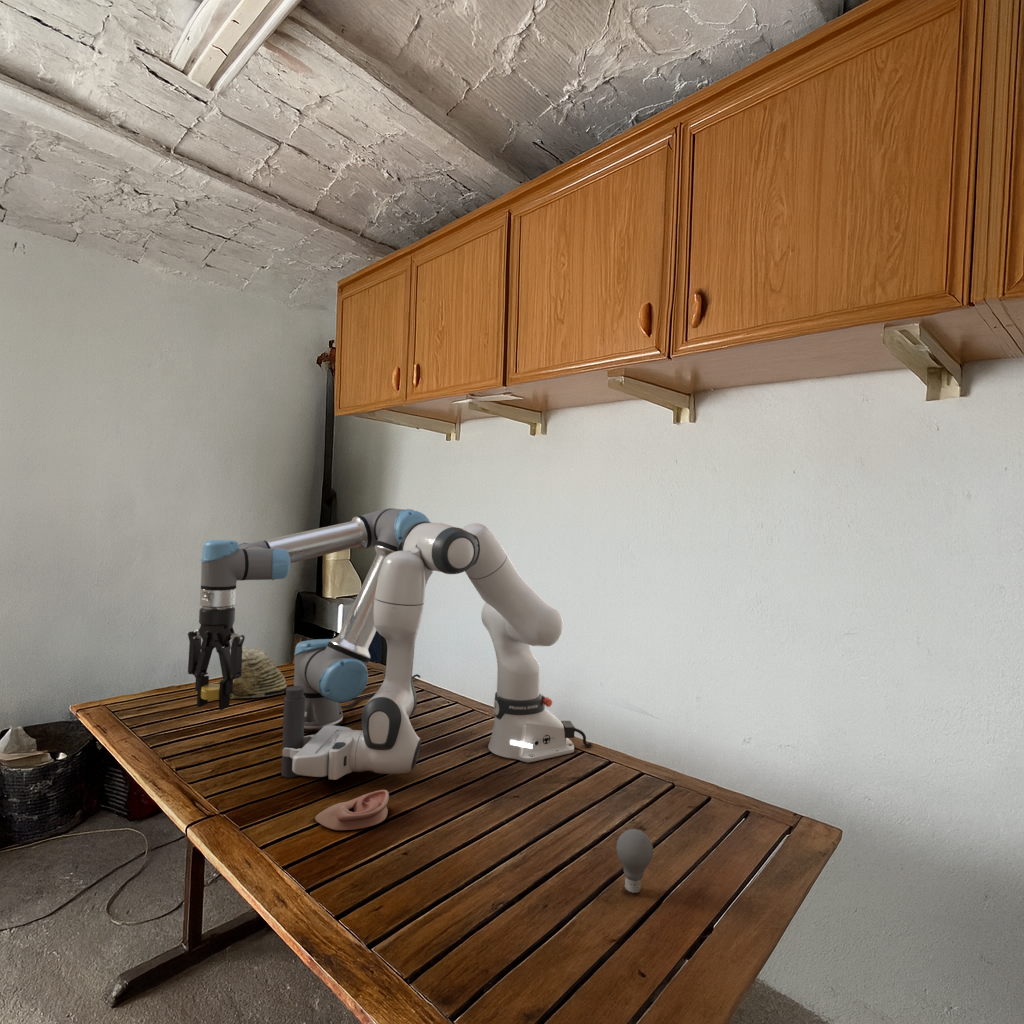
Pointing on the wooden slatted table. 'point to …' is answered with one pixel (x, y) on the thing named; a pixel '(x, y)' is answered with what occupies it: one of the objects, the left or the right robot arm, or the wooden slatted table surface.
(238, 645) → the left robot arm
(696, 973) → the wooden slatted table surface
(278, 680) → the fossil
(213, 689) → the lid
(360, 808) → the anatomical model
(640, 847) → the light bulb
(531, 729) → the right robot arm
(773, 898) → the wooden slatted table surface
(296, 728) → the dark grey slim bottle
